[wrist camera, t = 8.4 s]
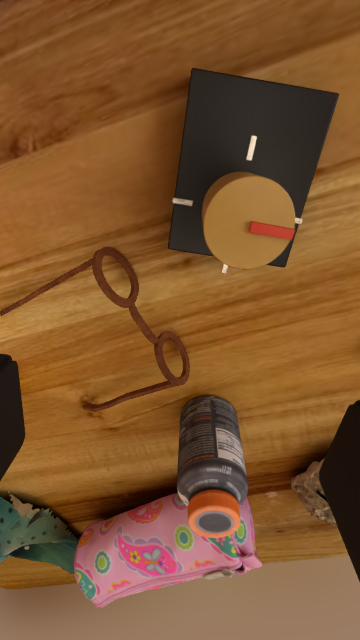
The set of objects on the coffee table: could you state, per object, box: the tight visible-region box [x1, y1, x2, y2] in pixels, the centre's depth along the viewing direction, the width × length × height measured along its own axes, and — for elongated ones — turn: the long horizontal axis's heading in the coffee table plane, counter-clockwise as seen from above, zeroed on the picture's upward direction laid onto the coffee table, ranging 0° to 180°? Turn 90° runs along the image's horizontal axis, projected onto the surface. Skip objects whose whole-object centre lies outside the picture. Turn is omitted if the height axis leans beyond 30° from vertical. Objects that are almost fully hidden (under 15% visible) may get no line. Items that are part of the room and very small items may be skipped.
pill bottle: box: [177, 396, 248, 538], centre depth 29 cm, size 6×6×11 cm
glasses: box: [0, 247, 190, 412], centre depth 28 cm, size 13×13×5 cm
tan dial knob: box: [202, 172, 295, 269], centre depth 20 cm, size 5×5×6 cm
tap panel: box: [168, 68, 339, 273], centre depth 23 cm, size 12×9×2 cm
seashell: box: [291, 458, 337, 526], centre depth 34 cm, size 11×7×10 cm
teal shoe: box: [0, 491, 81, 574], centre depth 43 cm, size 9×20×5 cm, turn 32°
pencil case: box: [74, 493, 263, 608], centre depth 37 cm, size 21×9×9 cm, turn 119°
